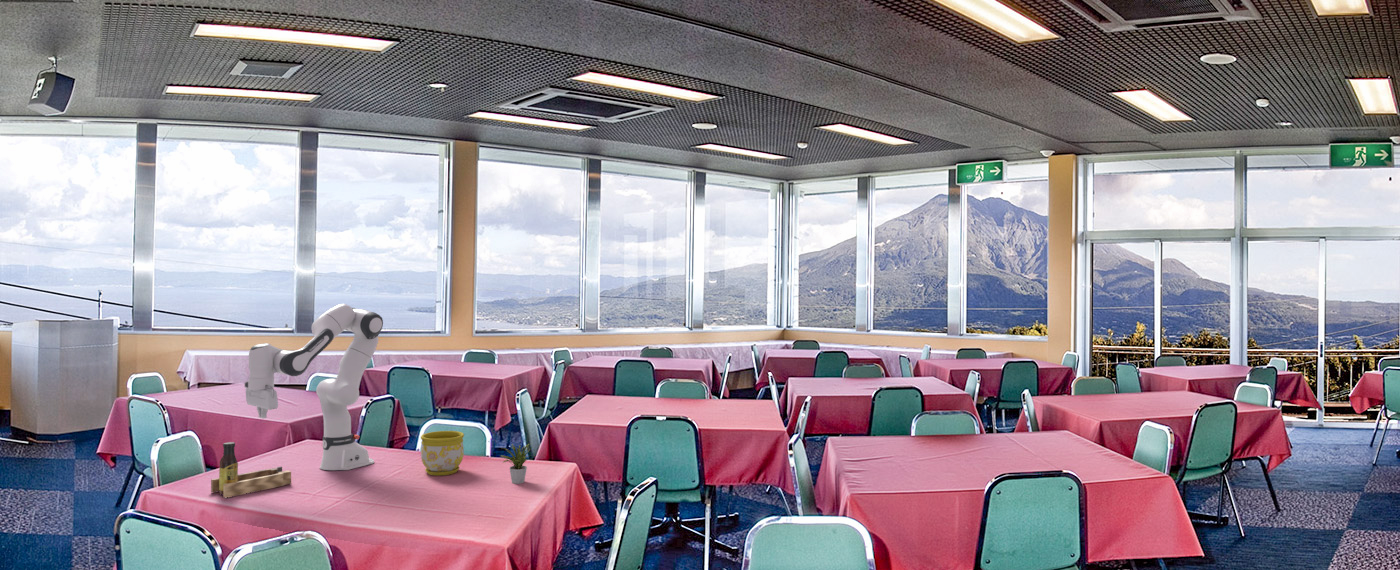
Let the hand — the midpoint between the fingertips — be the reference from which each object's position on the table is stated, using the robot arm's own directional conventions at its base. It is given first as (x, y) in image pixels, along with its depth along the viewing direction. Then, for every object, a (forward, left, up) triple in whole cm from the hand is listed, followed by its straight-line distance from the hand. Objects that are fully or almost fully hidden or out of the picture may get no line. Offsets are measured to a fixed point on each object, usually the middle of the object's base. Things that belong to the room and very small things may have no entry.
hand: (262, 417), depth 323 cm
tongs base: (+4, -2, -28) cm, 28 cm away
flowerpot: (-60, +36, -28) cm, 75 cm away
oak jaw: (+4, +5, -28) cm, 28 cm away
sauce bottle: (+13, +1, -28) cm, 31 cm away
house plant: (-72, +73, -28) cm, 106 cm away
